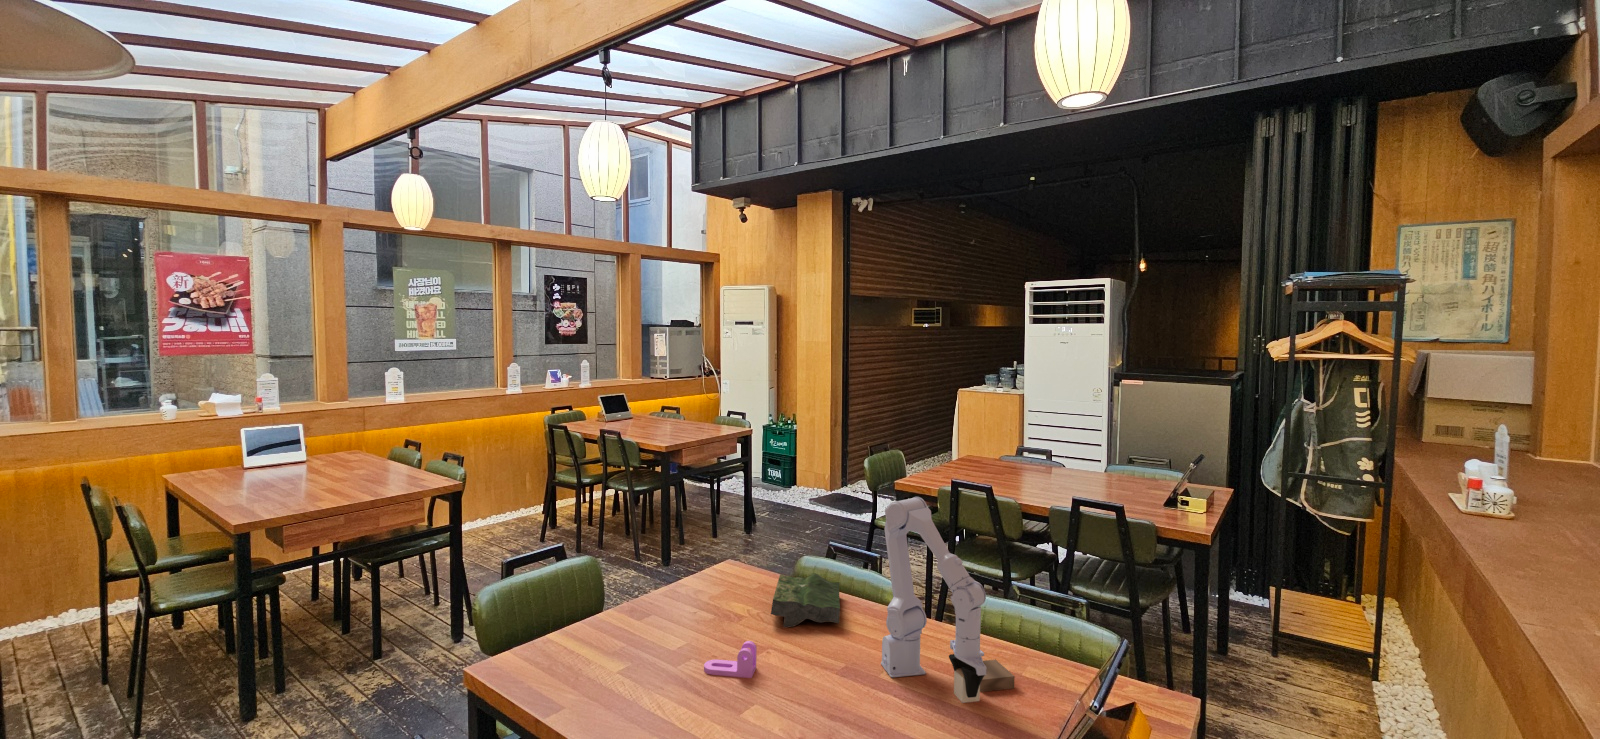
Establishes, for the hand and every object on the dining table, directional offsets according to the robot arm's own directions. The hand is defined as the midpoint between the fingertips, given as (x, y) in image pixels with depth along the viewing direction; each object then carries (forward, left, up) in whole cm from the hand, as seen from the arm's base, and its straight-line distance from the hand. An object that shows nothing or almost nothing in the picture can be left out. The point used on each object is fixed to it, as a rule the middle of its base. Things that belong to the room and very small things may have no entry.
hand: (966, 691), depth 156 cm
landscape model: (-25, +59, -2) cm, 64 cm away
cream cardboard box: (0, 0, -1) cm, 1 cm away
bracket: (-54, +24, -2) cm, 59 cm away
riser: (+9, +6, -1) cm, 11 cm away
